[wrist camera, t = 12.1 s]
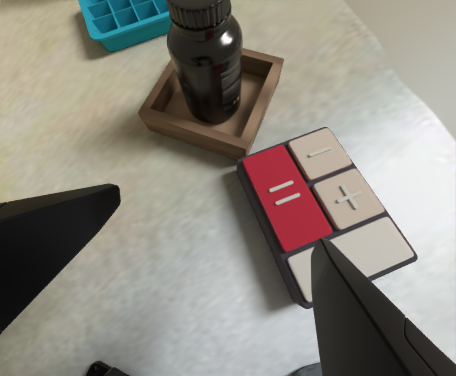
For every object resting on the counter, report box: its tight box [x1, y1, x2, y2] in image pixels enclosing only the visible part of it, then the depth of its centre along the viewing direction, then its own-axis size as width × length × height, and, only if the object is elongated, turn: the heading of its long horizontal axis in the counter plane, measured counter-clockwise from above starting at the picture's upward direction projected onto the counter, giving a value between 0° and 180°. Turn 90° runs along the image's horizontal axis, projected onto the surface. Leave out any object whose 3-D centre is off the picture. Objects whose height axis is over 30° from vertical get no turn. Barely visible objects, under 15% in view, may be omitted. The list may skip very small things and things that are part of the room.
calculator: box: [237, 127, 418, 309], centre depth 21 cm, size 11×4×15 cm
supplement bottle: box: [166, 0, 243, 123], centre depth 21 cm, size 7×7×12 cm
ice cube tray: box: [78, 0, 172, 52], centre depth 32 cm, size 12×20×3 cm, turn 114°
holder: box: [138, 48, 284, 160], centre depth 26 cm, size 13×13×3 cm
